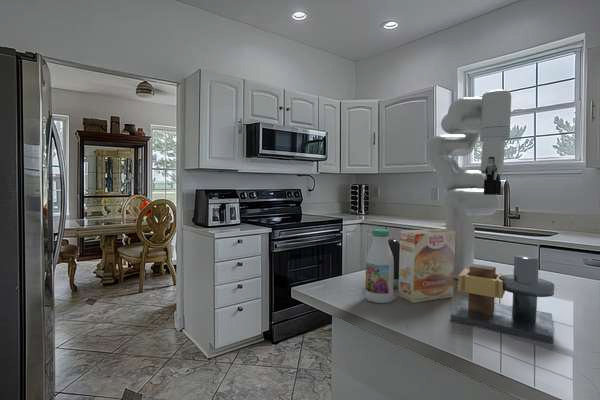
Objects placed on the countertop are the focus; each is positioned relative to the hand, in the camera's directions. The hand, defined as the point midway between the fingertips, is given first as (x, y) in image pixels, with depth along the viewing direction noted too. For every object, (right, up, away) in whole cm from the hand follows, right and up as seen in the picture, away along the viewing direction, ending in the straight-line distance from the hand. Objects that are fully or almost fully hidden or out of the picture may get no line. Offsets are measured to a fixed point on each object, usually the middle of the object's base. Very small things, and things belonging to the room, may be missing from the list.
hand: (492, 194), depth 100 cm
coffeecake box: (-19, -30, +1) cm, 36 cm away
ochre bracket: (-9, -24, -11) cm, 28 cm away
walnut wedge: (-10, -29, -13) cm, 34 cm away
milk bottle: (-33, -30, -2) cm, 45 cm away
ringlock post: (-7, -31, -16) cm, 36 cm away
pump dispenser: (-26, -30, +12) cm, 41 cm away
